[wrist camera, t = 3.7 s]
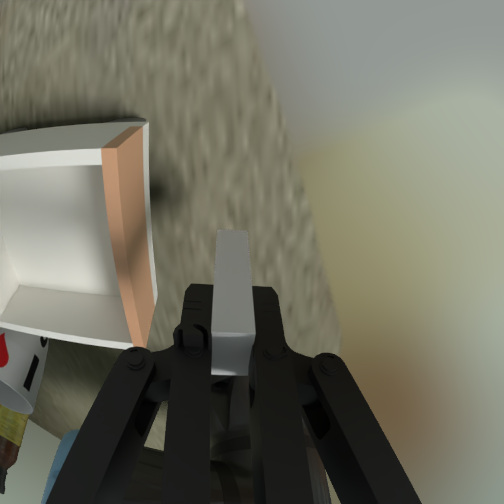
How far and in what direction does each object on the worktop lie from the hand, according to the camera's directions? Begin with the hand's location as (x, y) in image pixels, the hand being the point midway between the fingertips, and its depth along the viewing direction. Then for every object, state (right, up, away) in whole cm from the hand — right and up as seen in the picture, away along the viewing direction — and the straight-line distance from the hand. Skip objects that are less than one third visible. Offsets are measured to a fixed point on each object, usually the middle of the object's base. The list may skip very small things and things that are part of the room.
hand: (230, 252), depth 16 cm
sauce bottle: (-37, -22, +20) cm, 47 cm away
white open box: (-11, +4, +4) cm, 13 cm away
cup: (-23, -7, +11) cm, 26 cm away
